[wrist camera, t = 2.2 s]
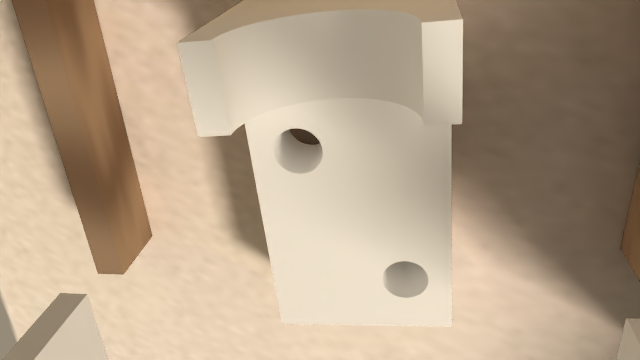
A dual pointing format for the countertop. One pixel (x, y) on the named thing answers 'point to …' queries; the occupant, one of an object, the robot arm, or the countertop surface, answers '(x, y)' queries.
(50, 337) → the robot arm
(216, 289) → the countertop surface
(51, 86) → the walnut rack
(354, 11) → the bracket
